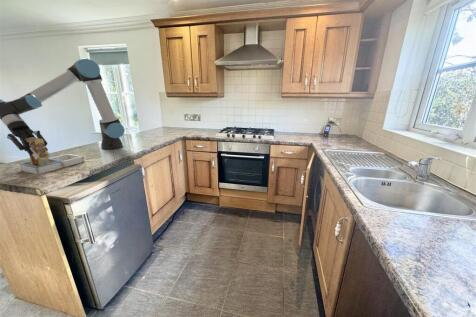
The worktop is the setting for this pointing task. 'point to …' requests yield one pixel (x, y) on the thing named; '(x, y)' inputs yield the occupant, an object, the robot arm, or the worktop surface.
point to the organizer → (52, 164)
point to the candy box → (38, 151)
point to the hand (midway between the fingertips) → (43, 156)
